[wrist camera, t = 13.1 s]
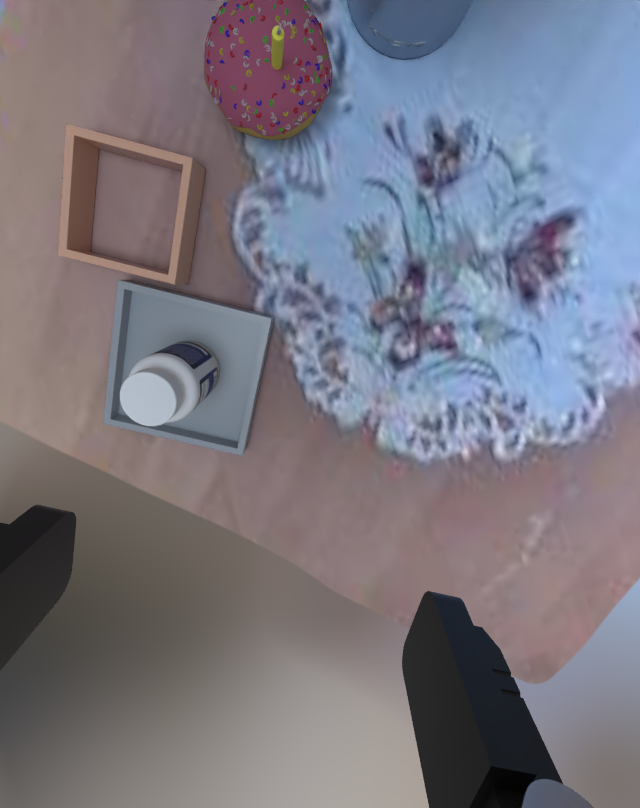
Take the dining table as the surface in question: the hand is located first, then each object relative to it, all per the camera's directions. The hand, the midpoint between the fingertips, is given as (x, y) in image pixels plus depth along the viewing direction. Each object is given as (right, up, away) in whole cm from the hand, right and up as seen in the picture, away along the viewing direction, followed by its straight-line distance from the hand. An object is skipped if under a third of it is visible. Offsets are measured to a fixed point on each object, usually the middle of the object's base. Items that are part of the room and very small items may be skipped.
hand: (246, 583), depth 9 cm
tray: (-10, +7, +29) cm, 32 cm away
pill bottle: (-10, +7, +29) cm, 32 cm away
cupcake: (-2, +28, +23) cm, 36 cm away
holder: (-13, +20, +26) cm, 35 cm away
